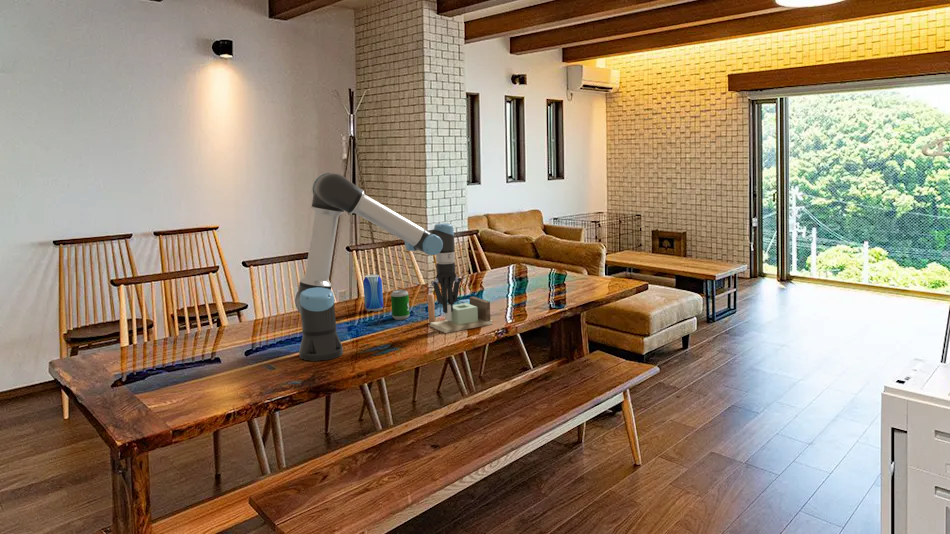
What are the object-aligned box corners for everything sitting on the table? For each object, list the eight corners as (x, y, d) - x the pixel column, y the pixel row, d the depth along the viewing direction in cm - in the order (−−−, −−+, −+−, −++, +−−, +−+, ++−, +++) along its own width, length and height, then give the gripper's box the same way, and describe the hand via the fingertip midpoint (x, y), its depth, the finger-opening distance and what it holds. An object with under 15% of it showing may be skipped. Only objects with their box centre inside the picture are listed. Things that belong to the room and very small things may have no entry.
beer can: (364, 308, 297) (361, 275, 294) (381, 307, 299) (379, 273, 297) (366, 312, 289) (364, 278, 286) (384, 310, 291) (382, 276, 289)
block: (458, 324, 255) (458, 310, 254) (448, 320, 263) (447, 306, 262) (477, 321, 259) (477, 306, 258) (467, 317, 267) (466, 303, 266)
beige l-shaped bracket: (445, 333, 250) (444, 309, 248) (430, 326, 261) (429, 303, 259) (492, 324, 261) (491, 301, 259) (476, 317, 272) (475, 296, 270)
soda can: (406, 320, 272) (405, 292, 270) (389, 320, 274) (388, 292, 272) (411, 316, 279) (410, 289, 277) (395, 315, 281) (393, 289, 279)
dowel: (430, 324, 265) (429, 295, 263) (427, 322, 267) (426, 294, 265) (436, 323, 266) (434, 294, 264) (433, 321, 268) (432, 293, 266)
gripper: (435, 265, 247) (438, 324, 251) (464, 261, 253) (466, 319, 257) (426, 263, 253) (429, 320, 257) (455, 259, 260) (458, 315, 264)
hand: (448, 320), depth 257 cm, fingers closed
